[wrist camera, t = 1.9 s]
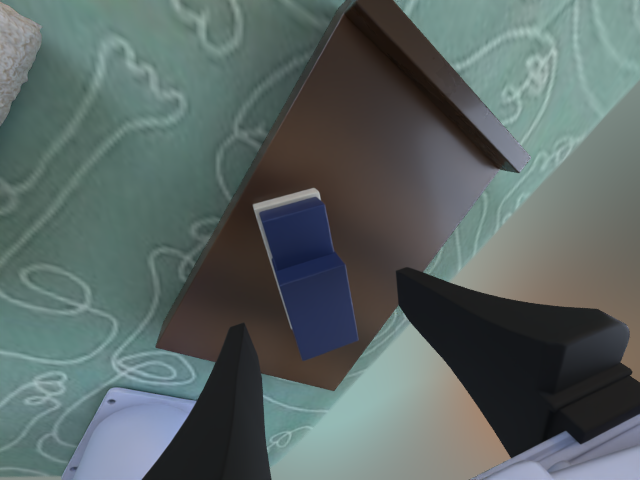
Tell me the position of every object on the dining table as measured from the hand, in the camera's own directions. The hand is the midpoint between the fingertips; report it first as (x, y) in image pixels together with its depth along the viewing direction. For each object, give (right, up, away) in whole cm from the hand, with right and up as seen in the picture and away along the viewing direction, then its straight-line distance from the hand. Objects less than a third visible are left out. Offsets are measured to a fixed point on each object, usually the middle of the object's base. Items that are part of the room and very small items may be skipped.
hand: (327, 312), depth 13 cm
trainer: (-2, +2, +5) cm, 6 cm away
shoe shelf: (0, +4, +8) cm, 8 cm away
